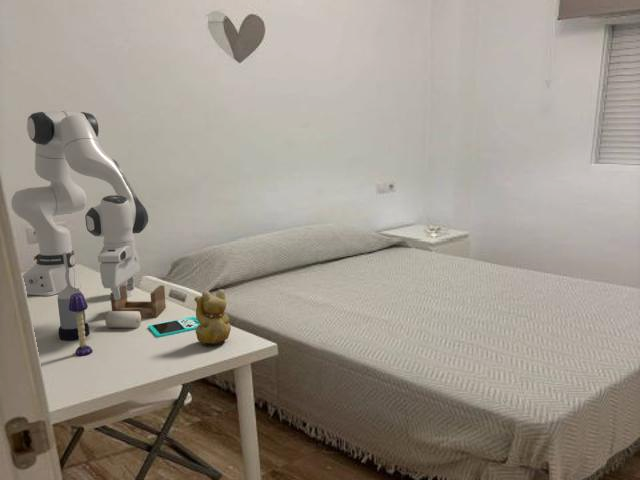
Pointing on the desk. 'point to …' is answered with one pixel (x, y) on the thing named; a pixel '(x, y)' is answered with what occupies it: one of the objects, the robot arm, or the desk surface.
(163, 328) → the handheld game console
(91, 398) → the desk surface
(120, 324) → the roll
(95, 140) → the robot arm
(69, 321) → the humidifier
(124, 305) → the holder
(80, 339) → the toy lamp
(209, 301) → the decorative figurine
